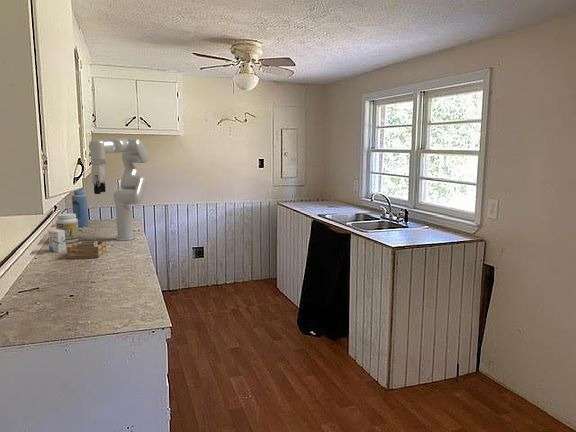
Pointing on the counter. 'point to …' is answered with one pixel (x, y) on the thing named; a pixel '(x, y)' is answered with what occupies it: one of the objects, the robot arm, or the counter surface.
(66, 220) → the supplement tub
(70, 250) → the crate
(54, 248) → the ink box
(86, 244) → the small crate
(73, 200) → the bottle
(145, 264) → the counter surface
